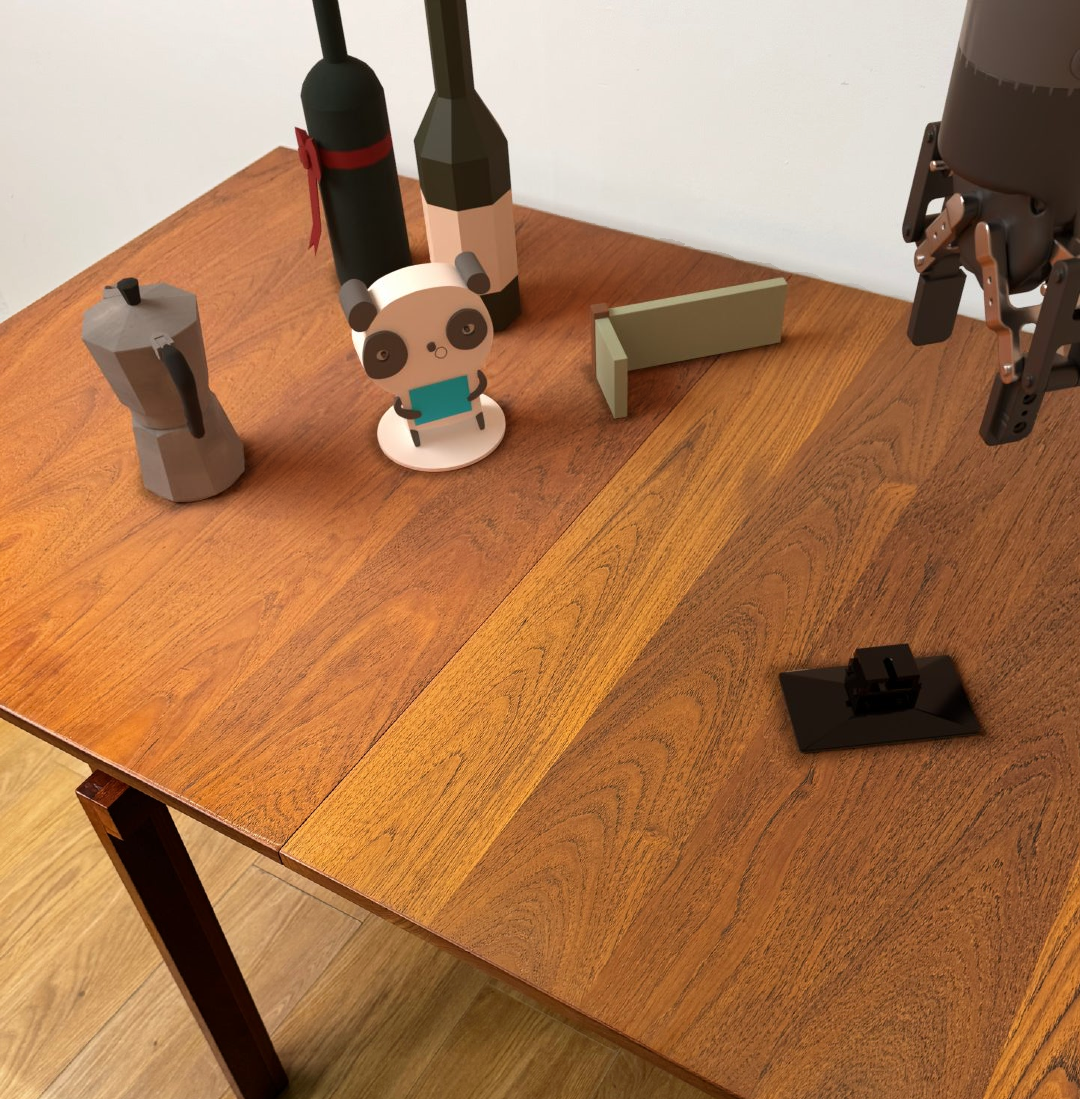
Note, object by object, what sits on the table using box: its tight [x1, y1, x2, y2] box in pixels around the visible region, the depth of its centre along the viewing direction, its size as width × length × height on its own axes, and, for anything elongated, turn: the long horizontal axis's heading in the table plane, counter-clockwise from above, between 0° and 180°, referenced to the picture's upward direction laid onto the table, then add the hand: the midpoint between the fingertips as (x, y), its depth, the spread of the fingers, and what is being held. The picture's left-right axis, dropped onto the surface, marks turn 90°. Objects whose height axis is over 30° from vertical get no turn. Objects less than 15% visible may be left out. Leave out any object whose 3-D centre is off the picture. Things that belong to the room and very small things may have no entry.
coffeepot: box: [80, 276, 246, 503], centre depth 93 cm, size 15×9×18 cm, turn 33°
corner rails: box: [589, 276, 788, 419], centre depth 103 cm, size 18×8×7 cm, turn 103°
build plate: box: [777, 642, 981, 754], centre depth 79 cm, size 12×7×5 cm, turn 95°
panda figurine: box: [338, 251, 507, 473], centre depth 97 cm, size 12×11×15 cm
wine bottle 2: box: [413, 0, 522, 334], centre depth 102 cm, size 8×8×30 cm
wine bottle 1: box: [294, 0, 414, 290], centre depth 107 cm, size 8×10×30 cm
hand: (962, 387), depth 58 cm, fingers open, 8 cm apart
